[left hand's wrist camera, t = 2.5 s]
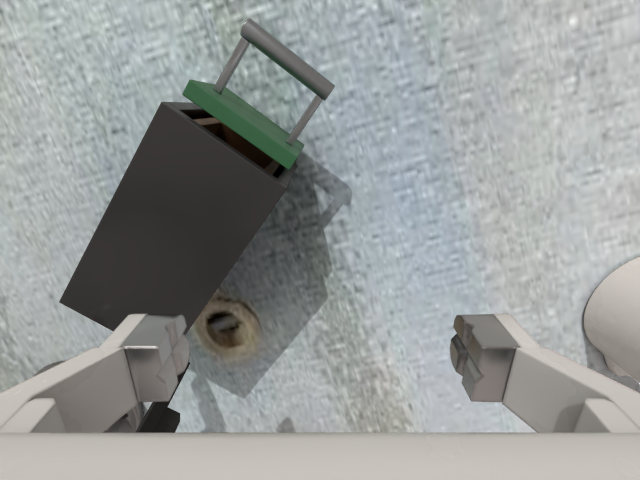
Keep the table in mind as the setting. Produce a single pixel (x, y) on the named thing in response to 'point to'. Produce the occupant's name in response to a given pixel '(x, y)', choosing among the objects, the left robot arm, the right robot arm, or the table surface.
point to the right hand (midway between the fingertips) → (87, 326)
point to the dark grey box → (173, 223)
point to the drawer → (245, 121)
